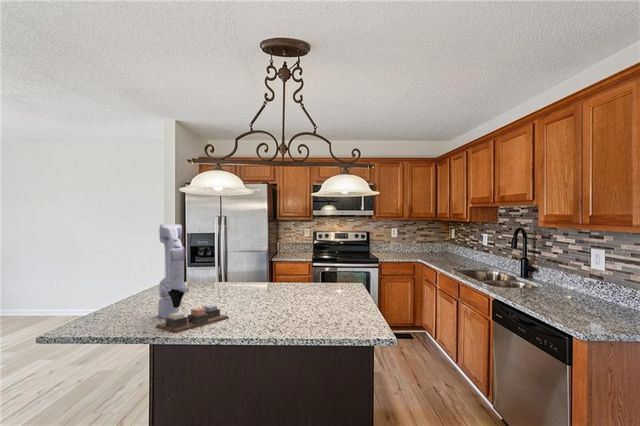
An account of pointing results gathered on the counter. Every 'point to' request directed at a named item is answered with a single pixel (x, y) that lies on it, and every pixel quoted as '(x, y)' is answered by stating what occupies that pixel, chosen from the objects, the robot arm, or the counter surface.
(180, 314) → the cream cube
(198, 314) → the salmon pink cube
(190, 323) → the brown socket board
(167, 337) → the counter surface
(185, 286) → the robot arm
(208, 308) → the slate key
